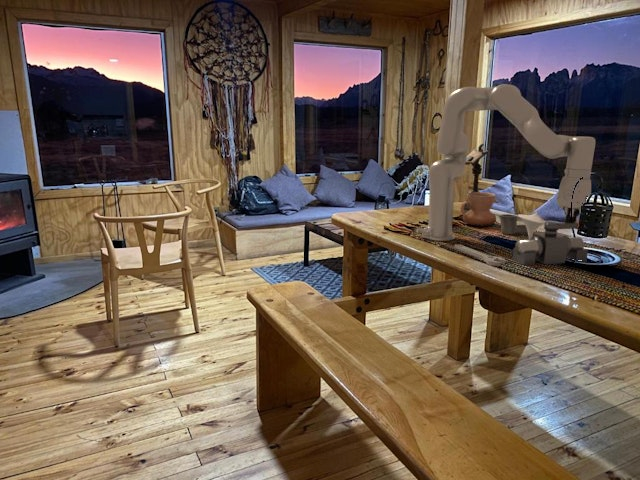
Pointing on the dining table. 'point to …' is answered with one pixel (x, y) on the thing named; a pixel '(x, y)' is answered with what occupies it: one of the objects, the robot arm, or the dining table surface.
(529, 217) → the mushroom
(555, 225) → the lever
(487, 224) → the ceramic jug
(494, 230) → the dining table surface
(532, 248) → the valve body
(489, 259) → the adjustable wrench
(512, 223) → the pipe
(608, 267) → the dining table surface
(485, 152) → the bird statue
